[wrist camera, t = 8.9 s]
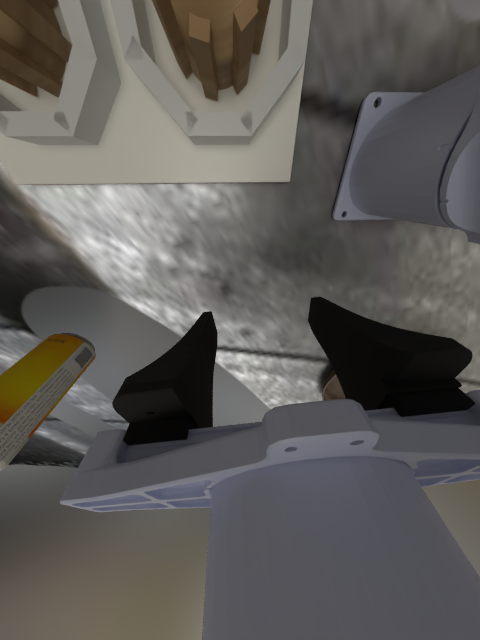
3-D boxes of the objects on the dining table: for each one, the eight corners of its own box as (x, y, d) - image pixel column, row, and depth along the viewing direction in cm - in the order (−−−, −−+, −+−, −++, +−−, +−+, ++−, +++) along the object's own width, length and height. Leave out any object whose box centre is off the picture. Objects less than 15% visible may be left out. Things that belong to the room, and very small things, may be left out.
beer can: (40, 334, 24) (-145, 472, 12) (79, 326, 24) (-73, 462, 12) (72, 361, 28) (-47, 489, 16) (107, 355, 28) (12, 482, 16)
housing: (333, -243, 7) (416, -590, 4) (285, 182, 16) (299, 179, 12) (-235, -283, 7) (-678, -735, 3) (32, 184, 15) (-22, 183, 12)
